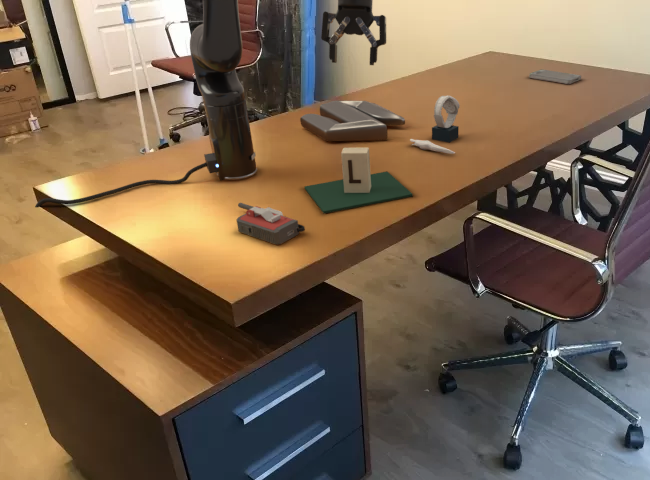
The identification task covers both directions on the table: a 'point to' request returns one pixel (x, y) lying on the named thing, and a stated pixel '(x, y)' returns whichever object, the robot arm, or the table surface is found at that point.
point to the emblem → (351, 121)
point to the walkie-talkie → (267, 224)
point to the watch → (446, 129)
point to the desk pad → (335, 199)
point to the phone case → (555, 76)
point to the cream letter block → (356, 170)
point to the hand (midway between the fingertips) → (353, 63)
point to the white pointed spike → (430, 146)
